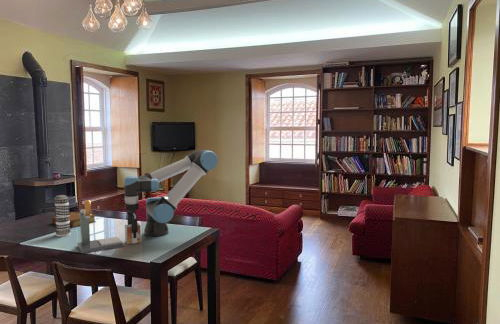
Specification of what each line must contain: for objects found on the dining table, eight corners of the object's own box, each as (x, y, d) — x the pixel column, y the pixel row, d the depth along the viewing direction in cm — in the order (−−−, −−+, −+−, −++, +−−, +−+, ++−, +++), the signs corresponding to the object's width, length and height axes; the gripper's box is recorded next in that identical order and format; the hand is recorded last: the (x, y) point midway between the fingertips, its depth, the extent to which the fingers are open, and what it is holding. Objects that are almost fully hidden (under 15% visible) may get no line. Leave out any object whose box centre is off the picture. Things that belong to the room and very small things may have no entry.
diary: (52, 224, 276) (51, 216, 275) (75, 219, 292) (75, 211, 291) (72, 228, 264) (72, 220, 263) (96, 222, 280) (95, 214, 280)
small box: (127, 244, 226) (126, 226, 225) (125, 242, 231) (124, 224, 230) (141, 242, 230) (140, 225, 229) (138, 240, 235) (138, 223, 234)
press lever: (79, 213, 222) (79, 196, 221) (87, 212, 224) (86, 195, 223) (84, 219, 207) (83, 201, 206) (92, 218, 209) (92, 200, 208)
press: (116, 240, 235) (115, 209, 233) (123, 246, 222) (121, 213, 221) (77, 246, 224) (75, 213, 222) (81, 253, 211) (79, 218, 209)
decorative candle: (53, 237, 243) (50, 197, 240) (58, 232, 252) (56, 194, 249) (68, 236, 244) (66, 196, 242) (73, 232, 253) (71, 194, 251)
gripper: (121, 201, 234) (122, 238, 236) (129, 206, 218) (130, 247, 220) (133, 199, 238) (135, 237, 240) (142, 205, 222) (144, 244, 224)
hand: (133, 241), depth 230 cm, fingers closed on small box, 6 cm apart
